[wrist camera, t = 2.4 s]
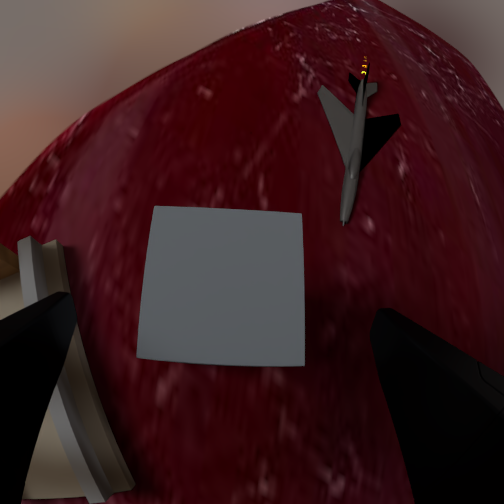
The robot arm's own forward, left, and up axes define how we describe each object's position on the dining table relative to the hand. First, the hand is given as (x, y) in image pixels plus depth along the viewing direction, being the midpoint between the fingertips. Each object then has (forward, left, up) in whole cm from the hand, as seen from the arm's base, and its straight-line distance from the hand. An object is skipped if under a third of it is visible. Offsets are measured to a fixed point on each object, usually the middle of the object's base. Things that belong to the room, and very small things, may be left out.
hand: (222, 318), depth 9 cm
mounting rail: (+7, +11, -9) cm, 16 cm away
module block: (+1, -1, -9) cm, 9 cm away
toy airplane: (+4, -20, -9) cm, 22 cm away
